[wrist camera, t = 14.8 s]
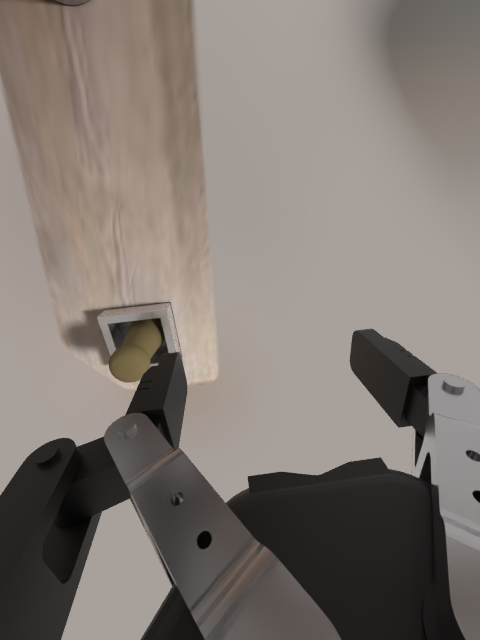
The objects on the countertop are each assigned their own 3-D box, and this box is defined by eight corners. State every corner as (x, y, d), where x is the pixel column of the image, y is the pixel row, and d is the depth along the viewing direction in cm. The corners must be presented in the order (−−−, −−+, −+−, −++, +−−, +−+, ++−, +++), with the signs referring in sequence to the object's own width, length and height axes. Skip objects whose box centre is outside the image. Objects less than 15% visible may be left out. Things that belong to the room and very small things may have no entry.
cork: (162, 314, 42) (144, 348, 32) (168, 346, 44) (154, 387, 34) (124, 317, 41) (95, 353, 31) (133, 349, 44) (108, 391, 34)
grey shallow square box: (105, 309, 41) (96, 317, 38) (170, 302, 41) (166, 309, 38) (123, 363, 45) (116, 374, 42) (182, 356, 46) (179, 366, 43)
